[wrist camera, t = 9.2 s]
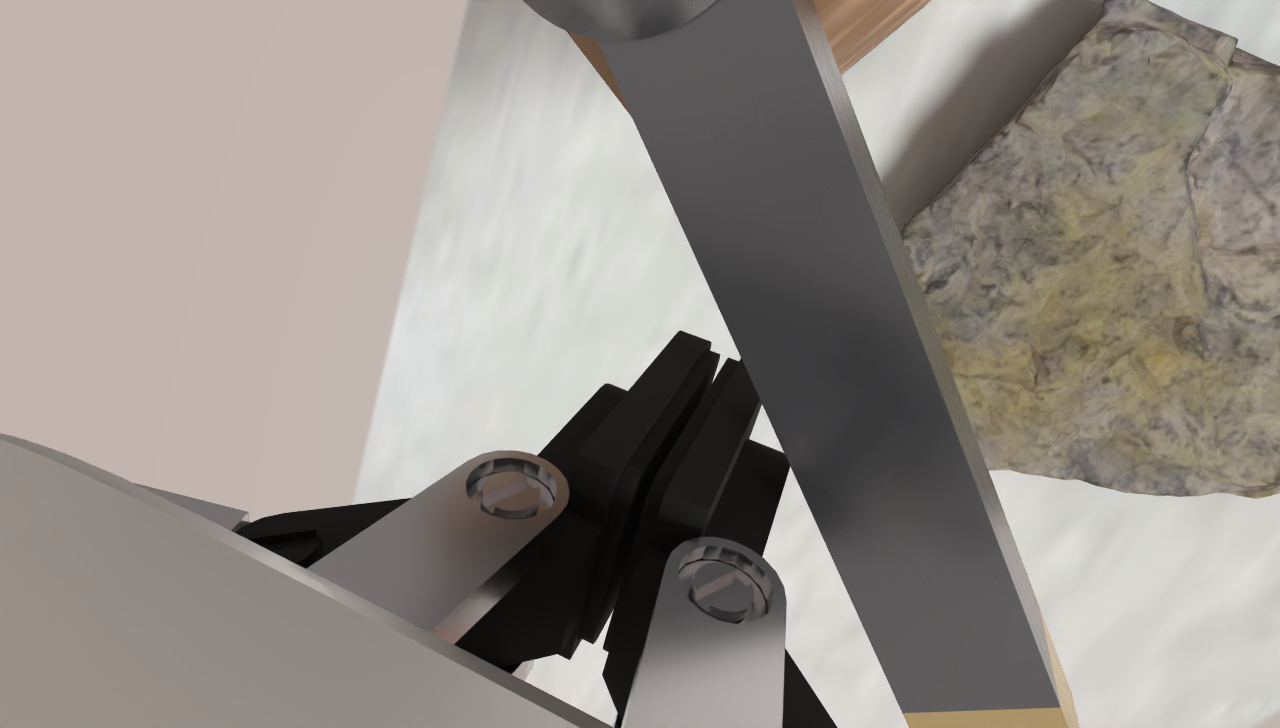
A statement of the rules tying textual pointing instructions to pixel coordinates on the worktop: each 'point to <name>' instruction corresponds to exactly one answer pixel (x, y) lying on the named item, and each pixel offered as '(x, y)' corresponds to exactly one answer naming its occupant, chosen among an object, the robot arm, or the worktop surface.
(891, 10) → the post
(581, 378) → the worktop surface
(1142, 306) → the stone
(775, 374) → the latch bar
